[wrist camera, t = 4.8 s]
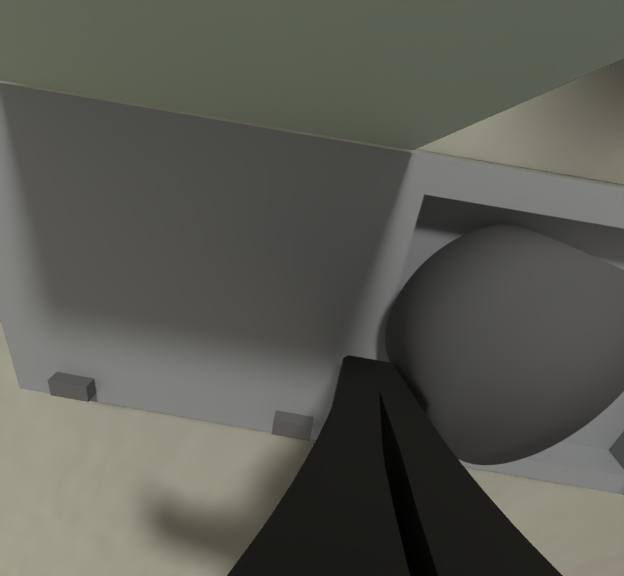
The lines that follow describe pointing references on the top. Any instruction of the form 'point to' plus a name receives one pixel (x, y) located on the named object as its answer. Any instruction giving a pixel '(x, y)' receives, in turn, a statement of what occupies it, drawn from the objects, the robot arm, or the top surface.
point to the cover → (314, 58)
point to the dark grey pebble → (509, 341)
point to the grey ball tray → (248, 260)
